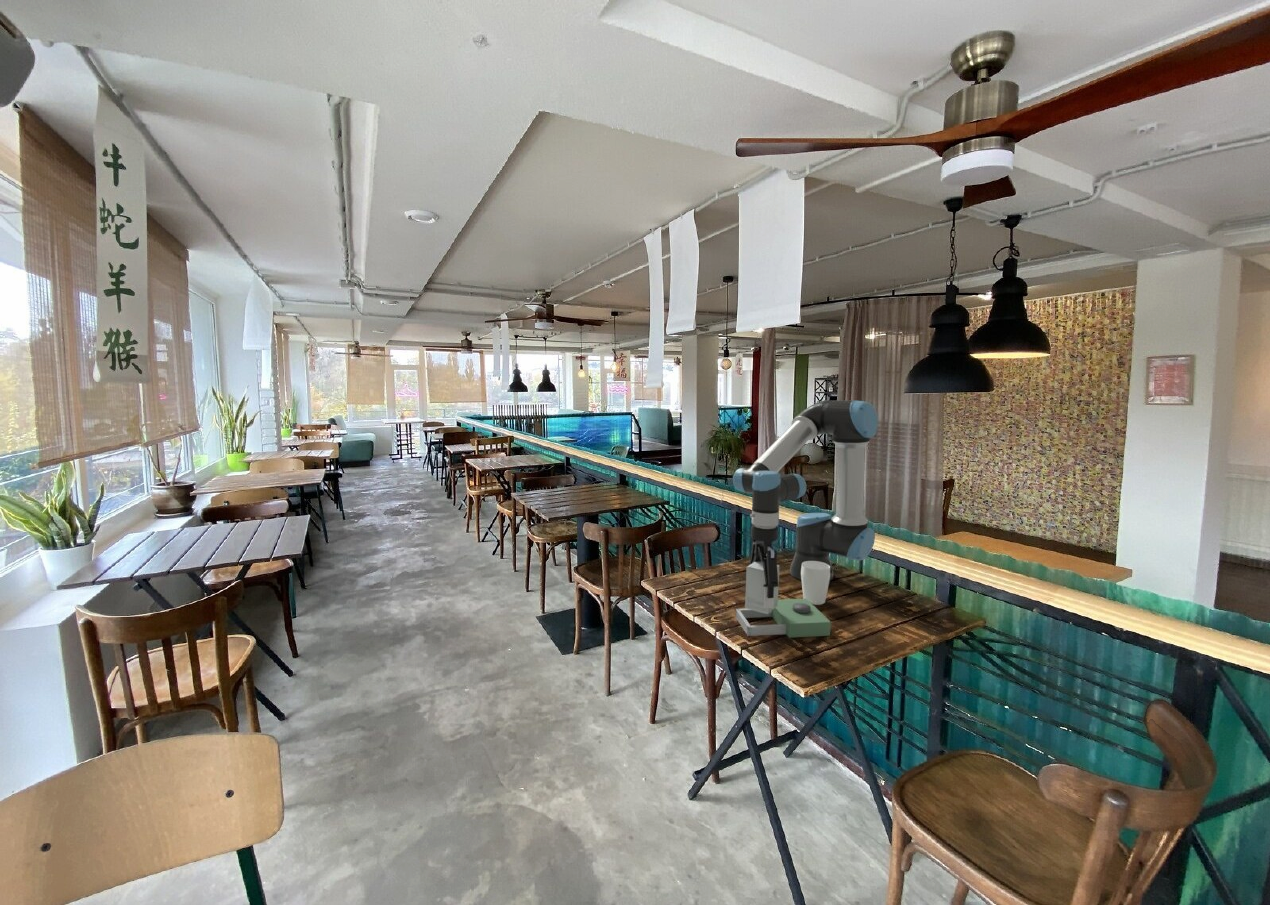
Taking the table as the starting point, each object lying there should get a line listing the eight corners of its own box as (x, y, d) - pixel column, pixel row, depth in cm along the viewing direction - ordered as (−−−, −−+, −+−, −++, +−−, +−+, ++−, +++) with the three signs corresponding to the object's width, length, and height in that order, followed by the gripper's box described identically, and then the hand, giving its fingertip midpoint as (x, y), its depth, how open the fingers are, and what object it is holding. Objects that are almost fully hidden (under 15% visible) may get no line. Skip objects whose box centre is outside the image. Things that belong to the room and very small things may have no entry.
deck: (805, 610, 158) (806, 594, 158) (830, 635, 142) (831, 617, 142) (733, 613, 156) (733, 597, 155) (750, 639, 140) (750, 621, 140)
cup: (831, 607, 160) (833, 571, 159) (801, 605, 162) (802, 569, 161) (826, 596, 169) (828, 561, 168) (798, 594, 171) (799, 559, 170)
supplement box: (768, 615, 143) (770, 571, 141) (744, 608, 147) (745, 566, 146) (778, 606, 149) (780, 564, 147) (754, 600, 153) (756, 559, 152)
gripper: (740, 515, 156) (737, 585, 158) (765, 537, 133) (762, 617, 136) (763, 515, 156) (761, 584, 159) (793, 536, 134) (789, 616, 137)
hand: (762, 600), depth 148 cm, fingers closed on supplement box, 10 cm apart
